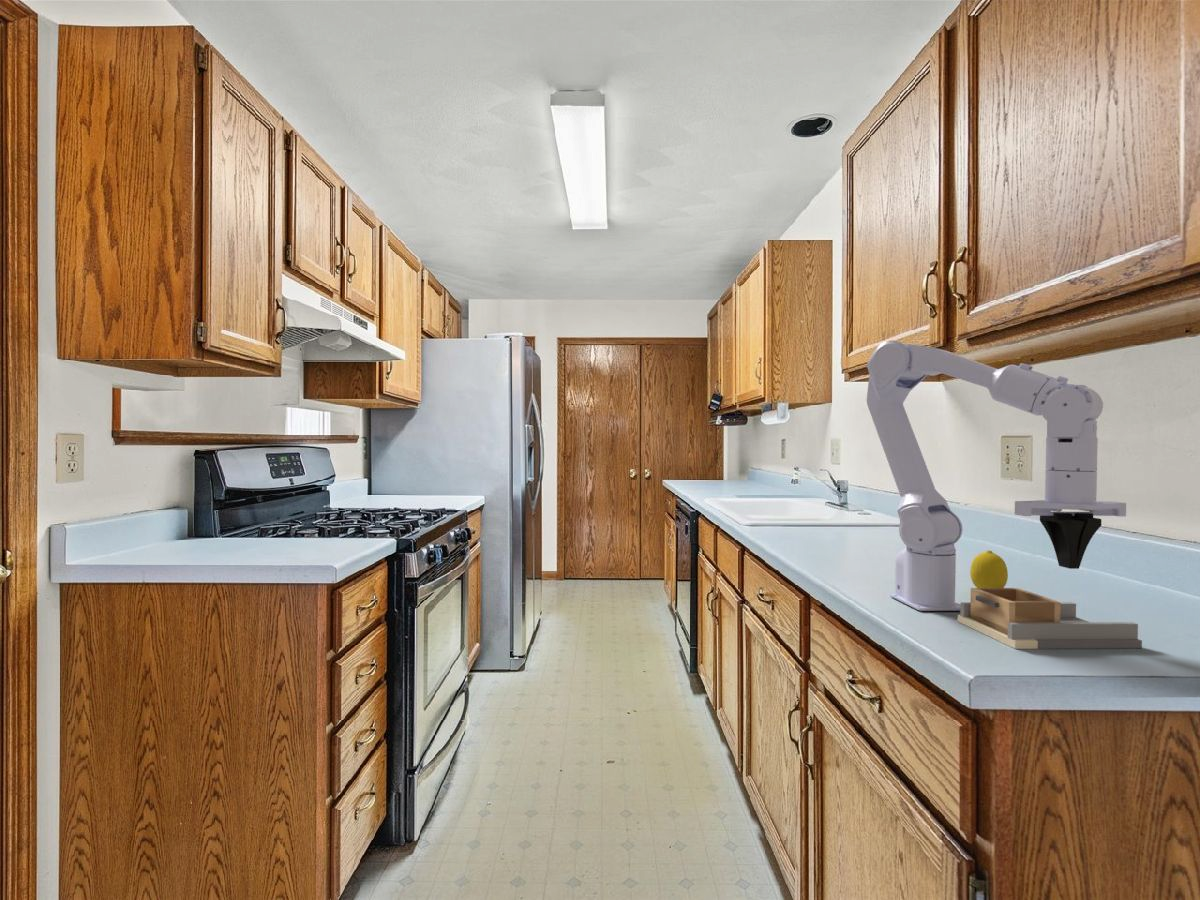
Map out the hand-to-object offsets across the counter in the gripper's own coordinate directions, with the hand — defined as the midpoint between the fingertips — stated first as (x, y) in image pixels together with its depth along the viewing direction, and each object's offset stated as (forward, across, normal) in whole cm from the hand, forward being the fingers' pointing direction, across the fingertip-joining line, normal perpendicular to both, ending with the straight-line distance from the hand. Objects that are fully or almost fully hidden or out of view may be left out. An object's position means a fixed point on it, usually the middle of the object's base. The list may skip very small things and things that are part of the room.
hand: (1068, 567), depth 85 cm
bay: (+9, -4, 0) cm, 10 cm away
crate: (+8, -8, 0) cm, 12 cm away
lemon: (+10, +3, +21) cm, 23 cm away
